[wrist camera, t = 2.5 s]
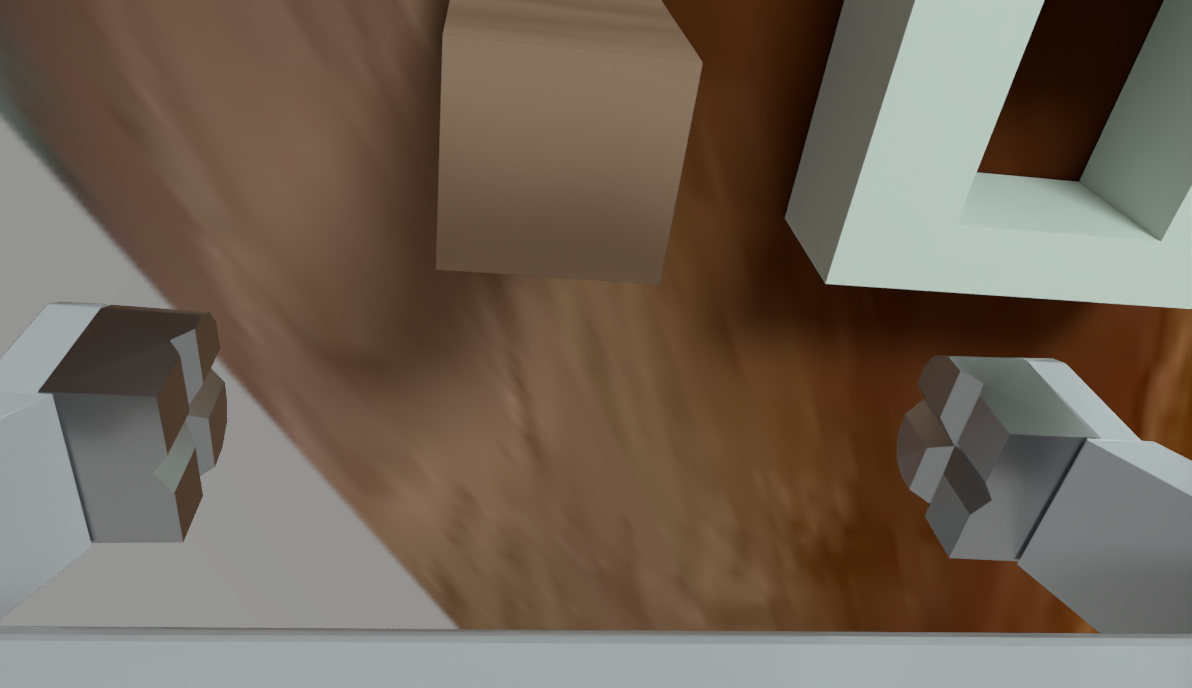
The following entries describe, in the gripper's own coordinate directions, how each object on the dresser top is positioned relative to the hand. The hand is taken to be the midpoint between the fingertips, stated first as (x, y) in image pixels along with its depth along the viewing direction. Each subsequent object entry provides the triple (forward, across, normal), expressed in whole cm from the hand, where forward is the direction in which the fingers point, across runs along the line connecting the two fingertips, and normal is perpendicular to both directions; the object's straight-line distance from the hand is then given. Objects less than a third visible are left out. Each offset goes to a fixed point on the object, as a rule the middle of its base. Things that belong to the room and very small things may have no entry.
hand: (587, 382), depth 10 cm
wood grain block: (+15, 0, 0) cm, 15 cm away
